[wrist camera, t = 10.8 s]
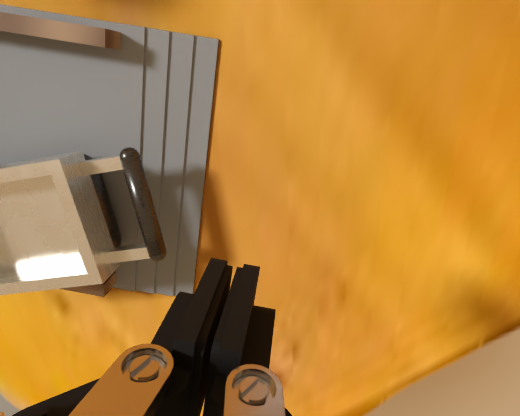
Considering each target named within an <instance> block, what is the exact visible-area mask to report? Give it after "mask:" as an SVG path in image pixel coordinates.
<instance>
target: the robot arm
mask: <svg viewBox="0 0 520 416" xmlns="http://www.w3.org/2000/svg"><path fill="white" fill-rule="evenodd" d="M259 270H260V267H258V266H252V265H247V264H244V266H243V268H240V267H237V269H236V272H235V275H234V278H233V282H232V285H231V288H230V283H231V276H232V266H229V265H227V261H225V260H220V259H215V258H211V259H210V261H209V263H208V266H207V268H206V270H205V272H204V274H203V276H202V278H201V280H200V283H199V285H198V287H197V289H196V291H195V293H194V294H191V293H186V292H181V291H180V292H179V293H178V294H177V296H176V298H175V300H174V302H173V303H172V305H171V307H170V309H169V311H168V313H167V314H166V316H165V318H164V320H163V322H162V324H161V326H160V327H159V329H158V331H157V333H156V335H155V337H154V339H153V340H152V342H151V344H140V345H137V346H133V347H131V348H129V349H127V350H126V351H124V352H123V353H122V354H121V355H120V356H119V357H118V358H117V359H116V361H115V362H114V363H113V364H112V365H111V366H110V368H109V369H108V370H107V371H106V372H105V373H104V375H103V376H102V377H101V378H99V379H97V380H94V381H92V382H90V383H87V384H85V385H82V386H80V387H77V388H75V389H72V390H70V391H67V392H65V393H62V394H60V395H57V396H55V397H52V398H50V399H47V400H45V401H42V402H40V403H37V404H35V405H33V406H30V407H28V408H25V409H23V410H21V411H19V412H18V413H16V414H14V415H13V416H200V413H201V409H202V406H203V403H204V399H205V403H204V411H203V416H292V415H291V414H290V413H289V412H288V410H287V409H286V408H285V406H284V397H283V388H282V385H281V382H280V380H279V378H278V377H277V376H276V374H275V373H273V372H272V371H271V370H270V369H269V363H270V355H271V346H272V337H273V328H274V320H275V309H270V308H265V307H259V306H254V299H255V293H256V288H257V282H258V276H259ZM229 290H230V291H229ZM0 416H4V413H3V412H0Z"/></svg>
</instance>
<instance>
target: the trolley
mask: <svg viewBox="0 0 520 416" xmlns="http://www.w3.org/2000/svg"><path fill="white" fill-rule="evenodd" d="M117 170H123V172H124V176H125V179H126V183H127V186H128V189H129V193H130V196H131V199H132V203H133V206H134V209H135V213H136V216H137V219H138V223H139V226H140V229H141V233H142V236H143V239H144V243H141V244H133V245H125V246H121V243H122V237H121V233H120V230H119V227H118V223H117V220H116V217H115V214H114V211H113V208H112V205H111V201H110V198H109V195H108V192H107V189H106V186H105V183H104V179H103V176H102V173H104V172H111V171H117ZM166 254H167V250H166V246H165V243H164V239H163V236H162V232H161V228H160V225H159V221H158V218H157V214H156V211H155V207H154V203H153V200H152V196H151V193H150V189H149V186H148V182H147V179H146V175H145V171H144V168H143V164H142V161H141V157H140V154H139V152H138V151H137V150H136V149H134V148H132V147H127V148H124V149H123V150H122V151H121V152H120V155H115V156H109V157H103V158H97V159H93V158H92V157H90V156H89V155H86V154H83V152H82V151H79V152H73V153H67V154H61V155H55V156H49V157H44V158H38V159H32V160H26V161H20V162H14V163H8V164H2V165H0V295H6V294H15V293H24V292H33V291H42V290H51V289H60V288H69V287H78V286H87V285H95V284H103V283H104V282H105V281H106V280H107V279H108V278H109V277H110V275H111V274H112V273H113V272H114V271H115V270H116V269H117V268H118V267H119V266H120V264H119V262H125V261H133V260H142V259H151V260H153V261H161V260H163V259H164V258H165V256H166Z"/></svg>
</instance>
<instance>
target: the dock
mask: <svg viewBox="0 0 520 416" xmlns="http://www.w3.org/2000/svg"><path fill="white" fill-rule="evenodd" d="M218 43H219V39H213V38H207V37H201V36H194V35H189V34H182V33H176V32H170V31H164V30H158V29H152V28H146V27H140V26H134V25H127V24H121V23H115V22H108V21H102V20H96V19H89V18H83V17H77V16H70V15H64V14H58V13H51V12H45V11H39V10H32V9H26V8H20V7H13V6H7V5H1V4H0V165H2V164H8V163H14V162H20V161H26V160H32V159H38V158H44V157H49V156H55V155H61V154H67V153H73V152H79V151H82V152H83V154H86V155H89V156H90V157H92V158H93V159H97V158H103V157H109V156H115V155H120V152H121V151H122V150H123V149H124V148H127V147H132V148H134V149H136V150H137V151H138V152H139V154H140V157H141V161H142V164H143V168H144V171H145V175H146V179H147V182H148V186H149V189H150V193H151V196H152V200H153V203H154V207H155V211H156V214H157V218H158V221H159V225H160V228H161V232H162V236H163V239H164V243H165V246H166V250H167V254H166V256H165V258H164V259H163V260H161V261H153V260H151V259H142V260H133V261H125V262H119V264H120V266H119V267H118V268H117V269H116V270H115V271H114V272H113V273H112V274H111V275H110V277H109V278H108V279H107V280H106V281H105V282H104V283H103V284H95V285H87V286H78V287H69V288H60V289H64V290H69V291H75V292H80V293H86V294H91V295H96V296H102V297H104V296H105V295H106V294H107V293H108V292H109V290H110V289H111V288H112V287H113V288H118V289H124V290H129V291H135V290H136V291H141V292H146V293H152V294H154V293H158V294H164V295H169V296H173V295H175V296H177V294H178V293H179V292H180V291H181V292H186V293H191V294H193V288H194V279H195V269H196V259H197V249H198V239H199V229H200V220H201V210H202V200H203V190H204V180H205V171H206V161H207V151H208V141H209V131H210V122H211V112H212V102H213V92H214V82H215V73H216V63H217V53H218ZM102 176H103V179H104V183H105V186H106V189H107V192H108V195H109V198H110V201H111V205H112V208H113V211H114V214H115V217H116V220H117V223H118V227H119V230H120V233H121V237H122V243H121V246H125V245H133V244H141V243H144V239H143V236H142V233H141V229H140V226H139V223H138V219H137V216H136V213H135V209H134V206H133V203H132V199H131V196H130V193H129V189H128V186H127V183H126V179H125V176H124V172H123V170H117V171H111V172H104V173H102Z"/></svg>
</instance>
